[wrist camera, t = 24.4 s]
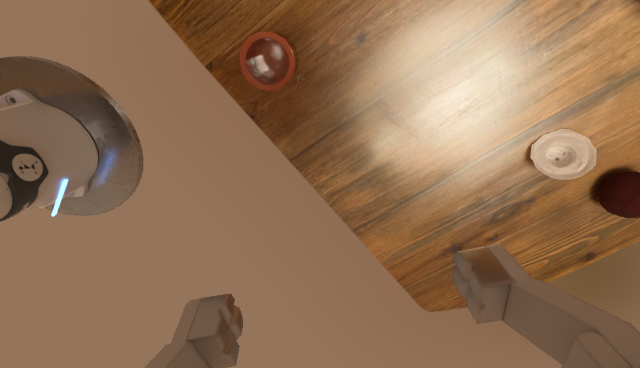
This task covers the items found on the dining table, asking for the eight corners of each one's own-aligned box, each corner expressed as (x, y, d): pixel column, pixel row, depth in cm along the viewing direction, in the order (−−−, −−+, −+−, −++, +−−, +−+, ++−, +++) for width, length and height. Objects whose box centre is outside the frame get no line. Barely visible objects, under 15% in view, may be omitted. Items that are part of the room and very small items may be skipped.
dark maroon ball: (643, 175, 51) (690, 195, 44) (605, 209, 54) (643, 232, 48) (615, 157, 49) (658, 175, 43) (577, 193, 52) (613, 215, 46)
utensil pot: (258, 86, 43) (248, 95, 37) (245, 36, 40) (232, 36, 34) (302, 78, 43) (299, 86, 37) (292, 27, 40) (287, 25, 34)
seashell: (529, 149, 52) (526, 185, 49) (533, 128, 48) (530, 165, 45) (588, 151, 48) (590, 191, 44) (598, 128, 44) (601, 169, 41)
